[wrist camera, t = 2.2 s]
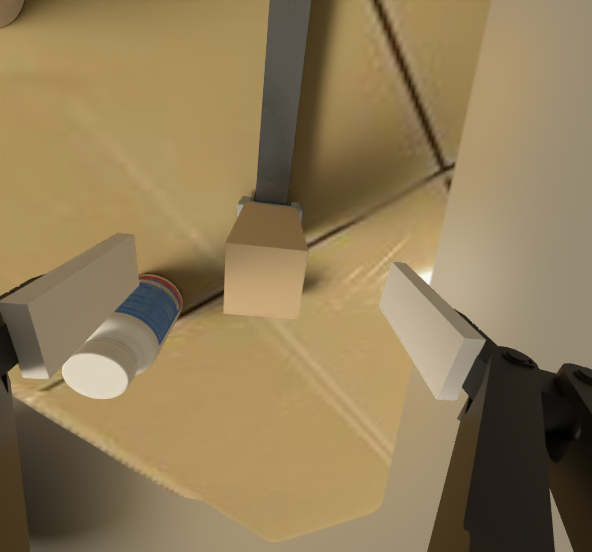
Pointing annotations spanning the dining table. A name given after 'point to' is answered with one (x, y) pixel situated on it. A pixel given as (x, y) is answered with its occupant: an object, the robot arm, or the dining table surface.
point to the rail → (281, 97)
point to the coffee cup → (9, 11)
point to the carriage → (265, 260)
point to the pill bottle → (125, 340)
